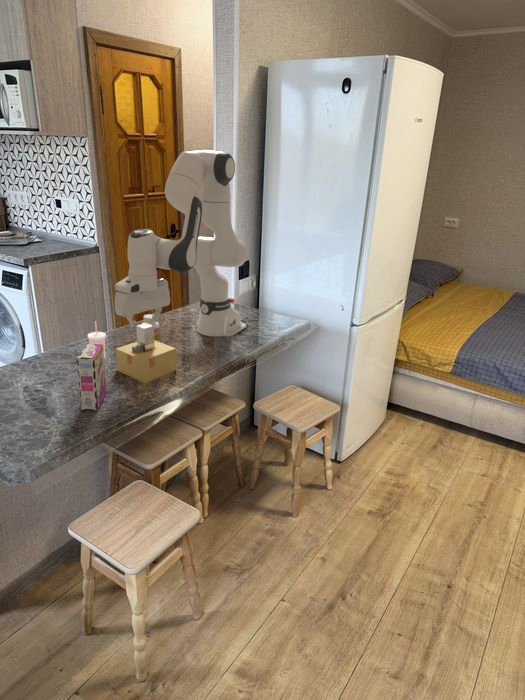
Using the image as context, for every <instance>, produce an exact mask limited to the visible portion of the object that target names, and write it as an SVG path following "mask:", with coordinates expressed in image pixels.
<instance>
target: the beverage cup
mask: <svg viewBox="0 0 525 700" xmlns="http://www.w3.org/2000/svg"><path fill="white" fill-rule="evenodd" d="M97 324H98V323H97V320H94V329H95V331H92V332H89V333H88V334H87V338H88V344H102V345H103V349H104V360H105V359H106V337H107V334H106V332H103V331H98V326H97Z"/></svg>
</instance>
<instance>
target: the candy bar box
mask: <svg viewBox="0 0 525 700" xmlns="http://www.w3.org/2000/svg"><path fill="white" fill-rule="evenodd" d="M76 363H77V374H78V387H79V398H80V410H81V411H99V409H100V406H101V404H102V402H103V401H104V398H105V396H106V394H107V385H106V371H105V359H104V349H103V345H102V344H89V343H87V344H86V345H85V347H84V348H83V349H82V350H81V352H80V353H79V355H78V356H77V357H76Z"/></svg>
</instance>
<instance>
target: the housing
mask: <svg viewBox="0 0 525 700" xmlns="http://www.w3.org/2000/svg"><path fill="white" fill-rule="evenodd" d="M154 341H155V340H154ZM154 344H155V349H154V350H151V351H148V352H143V348H142V347H140V346H137V341H135V342H132V343H129V344H126V345H123V346H120V347H116V348H115V357H116V358H115V359H116V360H115V361H116V370H117V372H120V373H122V374H124V375H126V376H129V377H130V378H132V379H135V380H137V381H139V382H142V383H143V384H145V383H148V382H150V381H153V380H156V379H158V378H161V377H162V376H165V375H167V374H170V373H171V372H174V371H177V348H176V347H173V346H171V345H168V344H165V343H163V342H161V341H160V342H158V341H155V342H154Z"/></svg>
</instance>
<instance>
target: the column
mask: <svg viewBox="0 0 525 700" xmlns="http://www.w3.org/2000/svg"><path fill="white" fill-rule="evenodd" d="M136 325H137V324H136ZM136 342H137V346H140V347H142V348H143V352H148V351H151V350H154V349H155V344H154V342H155V341H154V326H153V325H150V324H147V323H144V324H142V323H141V324H138V325H137V326H136Z"/></svg>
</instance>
